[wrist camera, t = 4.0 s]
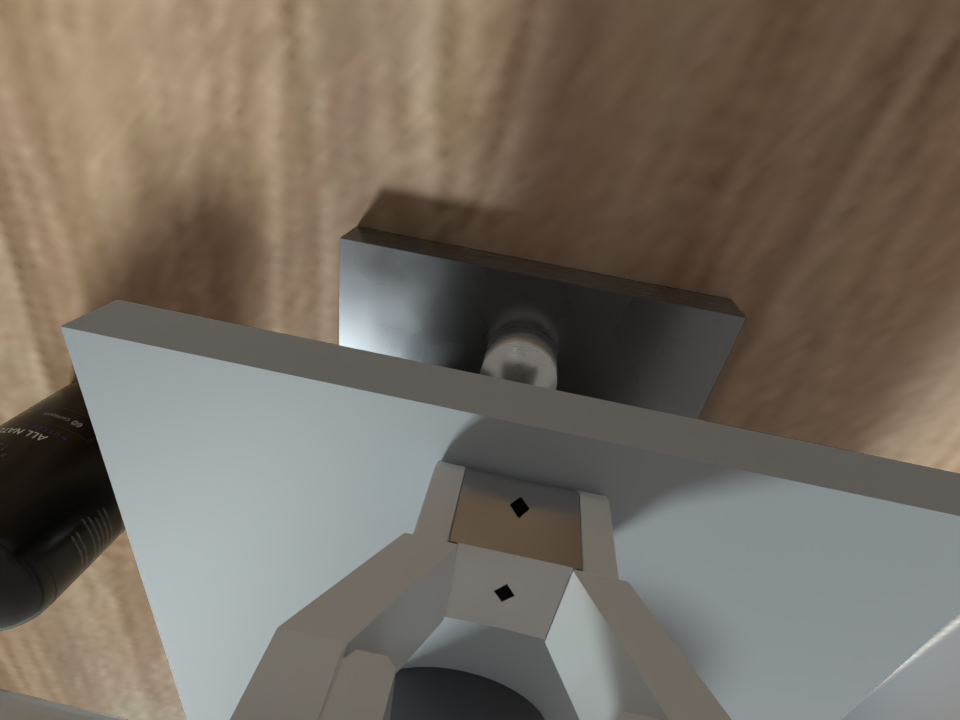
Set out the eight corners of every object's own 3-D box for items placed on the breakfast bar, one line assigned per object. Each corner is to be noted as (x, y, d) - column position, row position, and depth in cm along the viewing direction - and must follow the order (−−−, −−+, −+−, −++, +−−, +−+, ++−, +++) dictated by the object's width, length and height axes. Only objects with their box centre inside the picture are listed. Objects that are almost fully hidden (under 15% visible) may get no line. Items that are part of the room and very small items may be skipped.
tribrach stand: (356, 226, 18) (206, 333, 11) (731, 299, 18) (865, 470, 10) (349, 542, 27) (266, 724, 20) (596, 598, 27) (610, 808, 19)
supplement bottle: (102, 348, 23) (-271, 566, 13) (216, 445, 25) (-23, 699, 15) (42, 413, 26) (-304, 634, 15) (149, 495, 28) (-91, 738, 18)
